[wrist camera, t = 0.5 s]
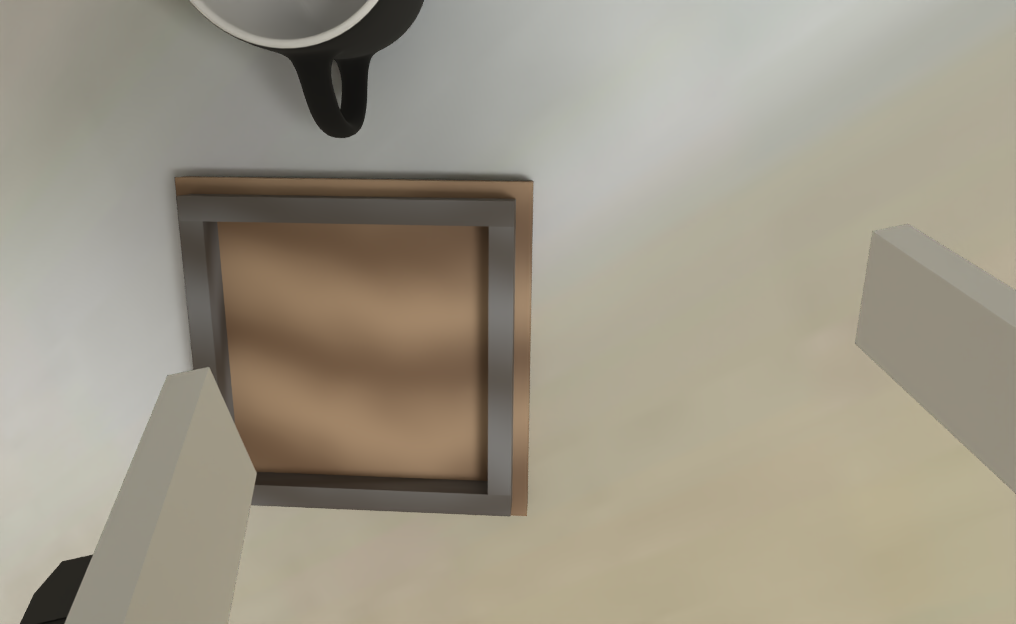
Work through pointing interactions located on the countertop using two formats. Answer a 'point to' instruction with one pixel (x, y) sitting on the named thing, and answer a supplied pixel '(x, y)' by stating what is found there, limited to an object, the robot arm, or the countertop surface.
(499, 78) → the countertop surface
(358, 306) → the wooden tray
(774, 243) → the countertop surface
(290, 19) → the mug
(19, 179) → the countertop surface
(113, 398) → the countertop surface
